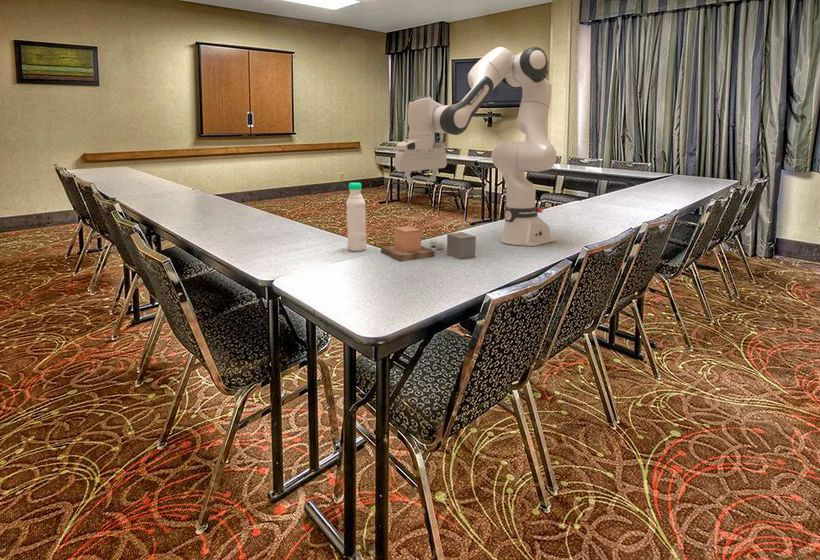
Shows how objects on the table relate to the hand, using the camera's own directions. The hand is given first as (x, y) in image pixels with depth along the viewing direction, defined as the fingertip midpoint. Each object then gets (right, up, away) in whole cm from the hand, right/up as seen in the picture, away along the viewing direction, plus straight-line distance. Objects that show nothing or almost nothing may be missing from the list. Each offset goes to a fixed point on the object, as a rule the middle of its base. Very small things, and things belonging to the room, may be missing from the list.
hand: (421, 182), depth 191 cm
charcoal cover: (+14, -27, -4) cm, 31 cm away
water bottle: (-24, -25, +6) cm, 35 cm away
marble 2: (+6, -24, +5) cm, 25 cm away
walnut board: (-5, -27, -2) cm, 27 cm away
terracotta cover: (-5, -25, -2) cm, 25 cm away
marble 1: (+4, -22, +8) cm, 24 cm away
